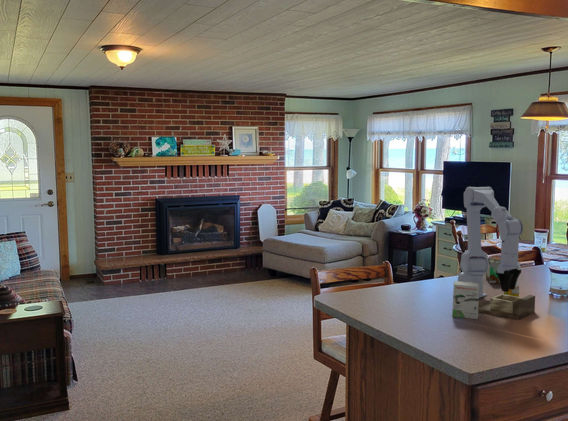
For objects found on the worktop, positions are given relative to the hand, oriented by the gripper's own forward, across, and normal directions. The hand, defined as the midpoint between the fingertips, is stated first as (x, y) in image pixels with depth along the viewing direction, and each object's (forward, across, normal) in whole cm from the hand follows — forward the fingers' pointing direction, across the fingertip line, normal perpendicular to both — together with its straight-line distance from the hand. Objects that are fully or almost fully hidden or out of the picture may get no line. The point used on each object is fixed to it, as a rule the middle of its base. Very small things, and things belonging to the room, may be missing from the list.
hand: (508, 290), depth 197 cm
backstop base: (+8, 0, +3) cm, 8 cm away
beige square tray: (+7, 0, 0) cm, 7 cm away
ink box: (+8, -16, +8) cm, 20 cm away
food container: (+8, +44, +25) cm, 51 cm away
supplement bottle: (+8, +15, +5) cm, 18 cm away
